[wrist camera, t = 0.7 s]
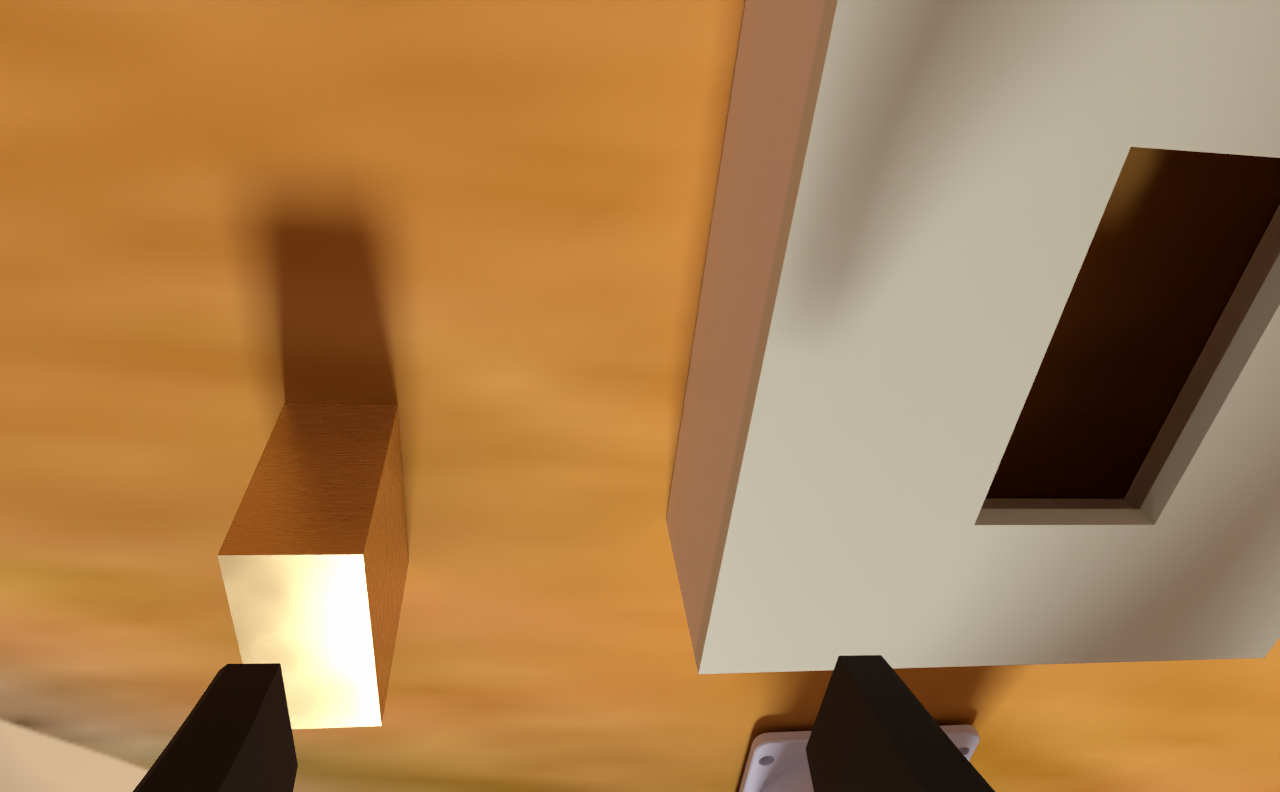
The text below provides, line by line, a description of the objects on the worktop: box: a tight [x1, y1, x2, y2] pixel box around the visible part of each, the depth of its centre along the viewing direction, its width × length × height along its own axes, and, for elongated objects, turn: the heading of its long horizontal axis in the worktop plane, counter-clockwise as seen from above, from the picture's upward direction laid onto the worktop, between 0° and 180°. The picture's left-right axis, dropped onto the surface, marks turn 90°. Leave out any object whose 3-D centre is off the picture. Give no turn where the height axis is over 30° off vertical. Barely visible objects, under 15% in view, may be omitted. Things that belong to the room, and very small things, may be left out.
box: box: [666, 0, 1280, 674], centre depth 17 cm, size 16×14×5 cm
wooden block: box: [218, 403, 409, 729], centre depth 18 cm, size 5×2×5 cm, turn 174°
